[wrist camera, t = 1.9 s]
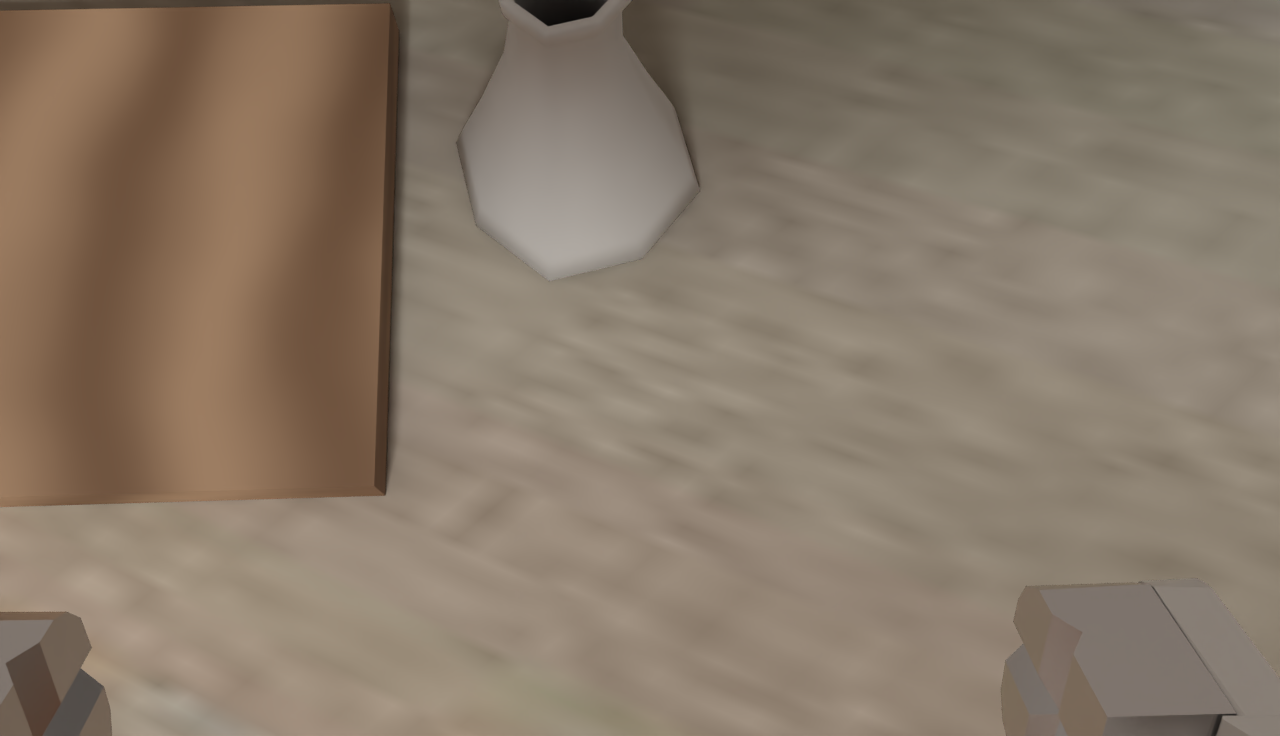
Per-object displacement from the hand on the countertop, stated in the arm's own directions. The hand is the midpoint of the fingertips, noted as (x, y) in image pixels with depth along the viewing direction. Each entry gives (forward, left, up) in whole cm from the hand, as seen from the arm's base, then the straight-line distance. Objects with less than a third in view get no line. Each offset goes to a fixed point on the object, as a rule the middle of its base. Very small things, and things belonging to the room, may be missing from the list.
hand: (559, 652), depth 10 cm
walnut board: (+13, -13, -22) cm, 28 cm away
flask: (0, -15, -22) cm, 27 cm away
